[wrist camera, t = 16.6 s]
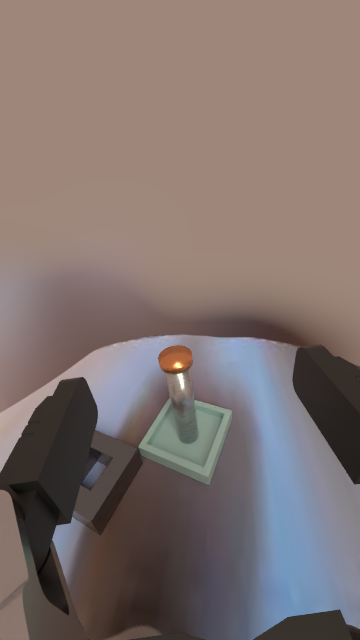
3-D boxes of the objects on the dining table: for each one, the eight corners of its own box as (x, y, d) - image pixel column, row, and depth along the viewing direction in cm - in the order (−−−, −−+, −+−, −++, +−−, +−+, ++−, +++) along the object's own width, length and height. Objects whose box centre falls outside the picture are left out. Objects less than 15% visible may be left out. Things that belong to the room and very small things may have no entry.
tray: (173, 401, 49) (172, 393, 48) (232, 419, 44) (231, 410, 43) (140, 455, 40) (138, 447, 39) (209, 485, 35) (208, 477, 34)
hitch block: (96, 441, 44) (89, 427, 42) (142, 463, 39) (137, 448, 37) (49, 501, 36) (38, 486, 34) (100, 535, 32) (91, 521, 30)
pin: (182, 419, 45) (168, 343, 36) (205, 427, 43) (197, 348, 34) (170, 441, 41) (152, 363, 32) (195, 451, 39) (183, 370, 30)
